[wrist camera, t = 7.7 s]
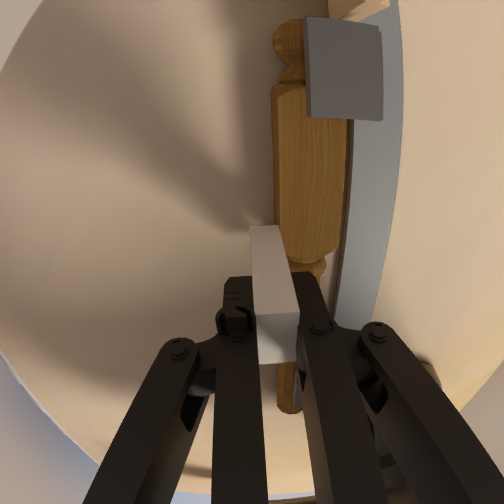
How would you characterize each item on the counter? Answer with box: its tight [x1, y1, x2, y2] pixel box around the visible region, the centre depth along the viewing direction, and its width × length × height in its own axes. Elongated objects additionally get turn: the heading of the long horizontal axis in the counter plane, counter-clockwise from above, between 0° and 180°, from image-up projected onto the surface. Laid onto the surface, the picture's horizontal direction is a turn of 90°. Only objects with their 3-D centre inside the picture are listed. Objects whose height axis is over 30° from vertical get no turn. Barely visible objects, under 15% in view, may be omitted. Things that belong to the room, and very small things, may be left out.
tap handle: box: [271, 19, 347, 414], centre depth 18 cm, size 3×3×30 cm
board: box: [293, 0, 403, 407], centre depth 13 cm, size 33×9×6 cm, turn 3°
